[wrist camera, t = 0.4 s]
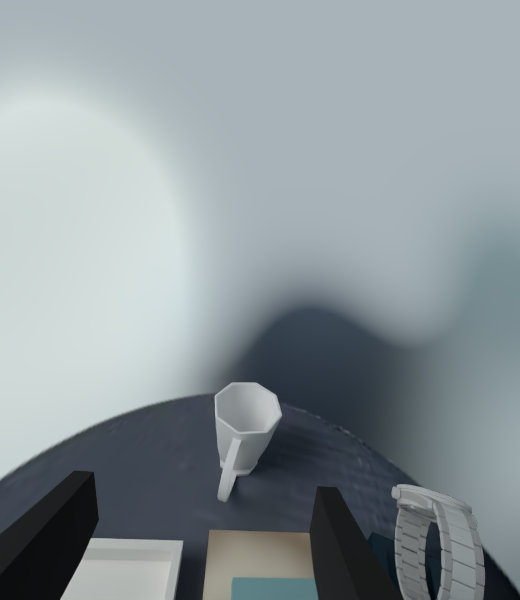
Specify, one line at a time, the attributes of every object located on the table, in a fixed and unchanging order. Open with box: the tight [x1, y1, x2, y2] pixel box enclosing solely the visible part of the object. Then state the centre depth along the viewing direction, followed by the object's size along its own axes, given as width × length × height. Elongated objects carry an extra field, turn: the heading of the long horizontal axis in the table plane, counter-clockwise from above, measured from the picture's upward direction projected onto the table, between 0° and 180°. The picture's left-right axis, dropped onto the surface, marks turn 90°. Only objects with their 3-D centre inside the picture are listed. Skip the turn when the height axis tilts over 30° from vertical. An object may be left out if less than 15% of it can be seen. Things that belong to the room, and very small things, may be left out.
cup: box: [215, 383, 282, 502], centre depth 29 cm, size 7×10×8 cm
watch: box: [367, 484, 485, 600], centre depth 21 cm, size 6×8×11 cm
